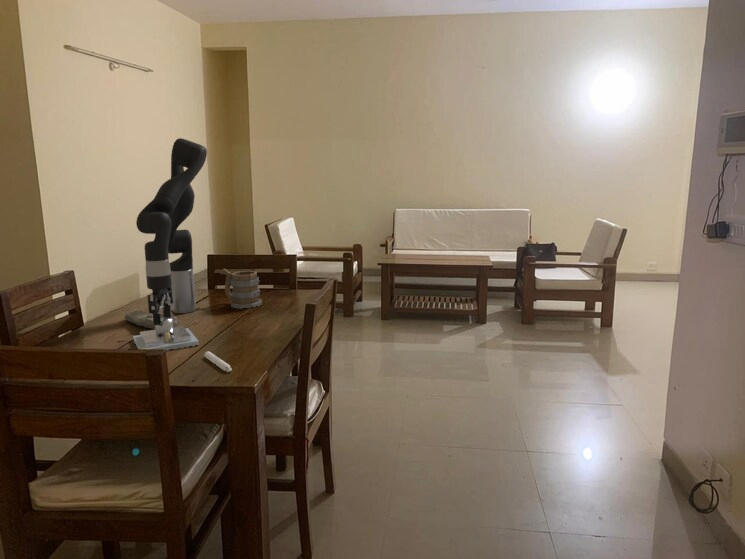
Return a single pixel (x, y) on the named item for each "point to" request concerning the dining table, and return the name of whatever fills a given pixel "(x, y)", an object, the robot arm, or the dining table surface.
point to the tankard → (242, 288)
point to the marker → (218, 361)
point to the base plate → (169, 345)
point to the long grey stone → (146, 319)
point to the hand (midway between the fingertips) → (162, 321)
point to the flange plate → (161, 339)
